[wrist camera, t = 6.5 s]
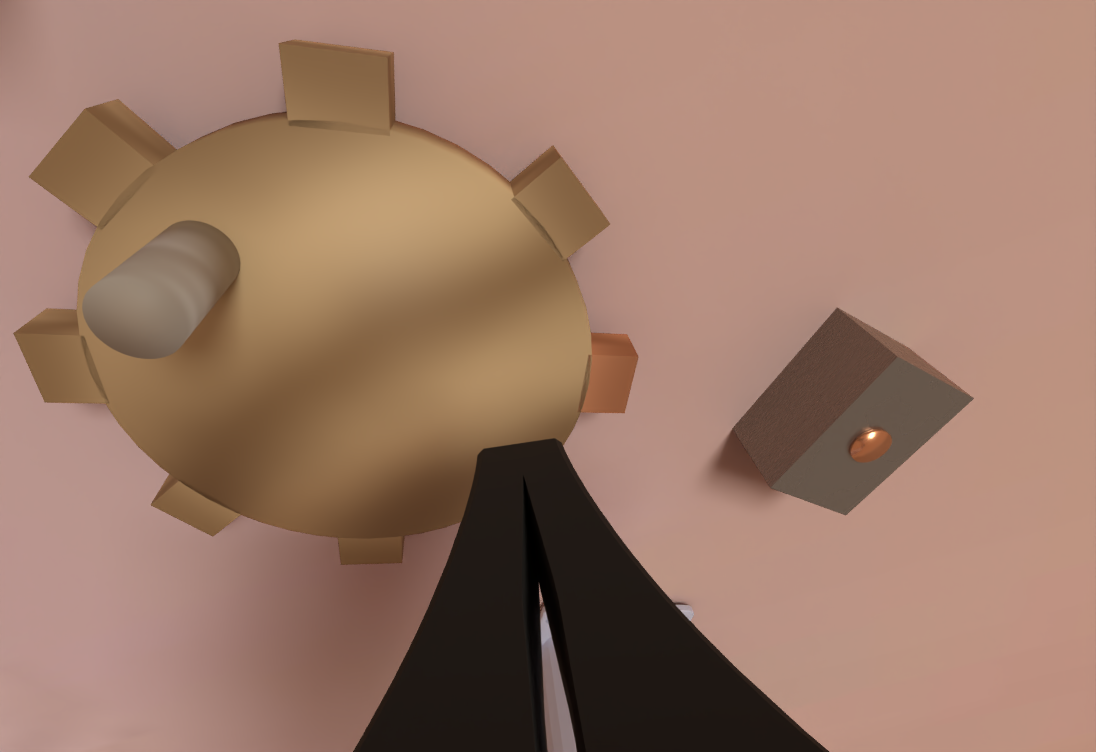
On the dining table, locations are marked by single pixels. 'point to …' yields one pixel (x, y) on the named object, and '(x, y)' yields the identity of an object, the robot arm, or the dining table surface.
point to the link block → (846, 414)
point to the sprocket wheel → (322, 308)
